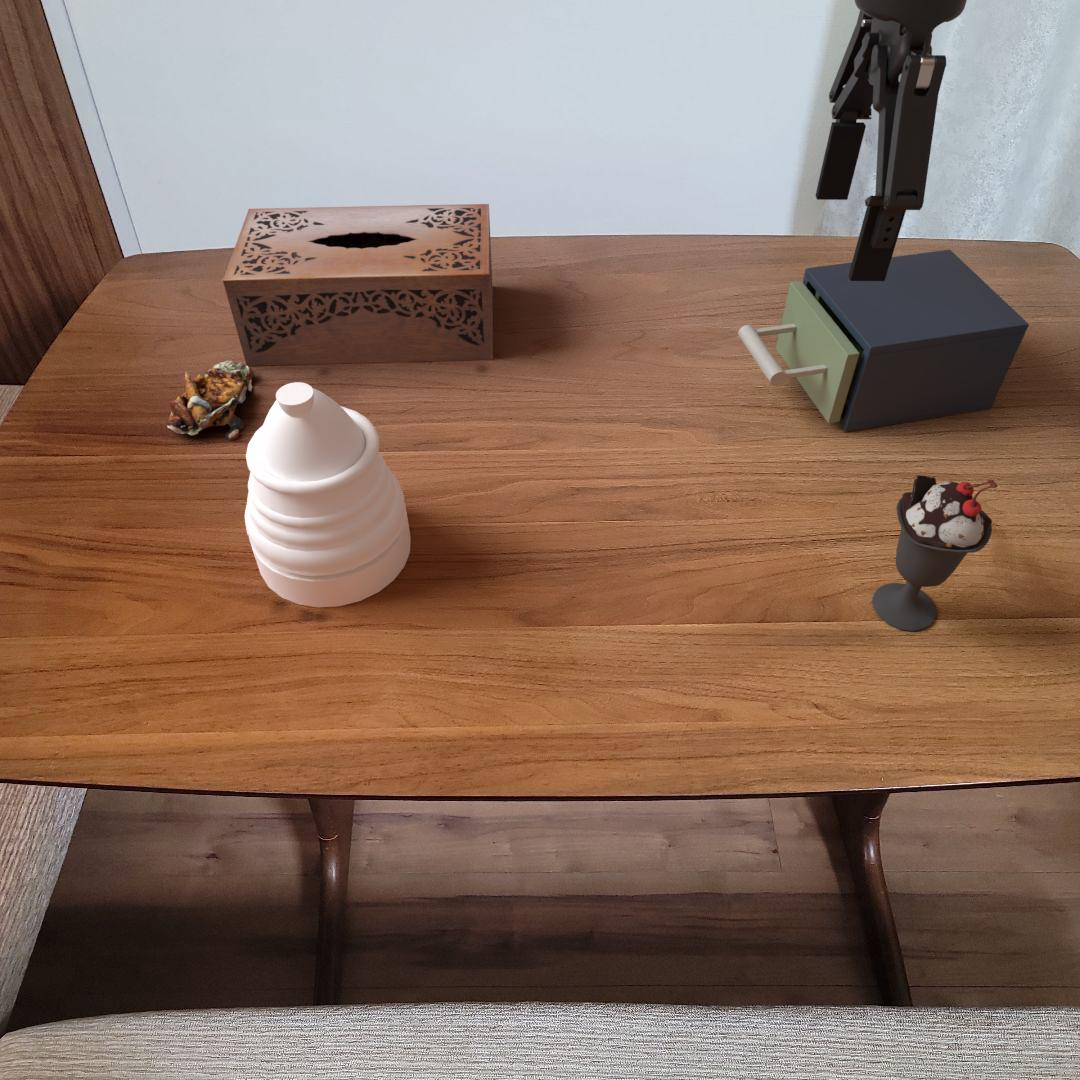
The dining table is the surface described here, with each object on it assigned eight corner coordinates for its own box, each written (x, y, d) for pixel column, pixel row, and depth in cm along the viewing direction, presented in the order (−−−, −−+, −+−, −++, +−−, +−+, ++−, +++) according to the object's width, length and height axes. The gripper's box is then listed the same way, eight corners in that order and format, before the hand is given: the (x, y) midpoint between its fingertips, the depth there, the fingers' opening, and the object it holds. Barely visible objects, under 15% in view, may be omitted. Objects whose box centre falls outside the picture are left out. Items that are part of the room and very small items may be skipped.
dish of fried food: (259, 366, 97) (252, 336, 94) (240, 440, 89) (230, 411, 86) (192, 368, 97) (182, 338, 94) (165, 443, 88) (154, 413, 86)
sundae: (953, 645, 72) (1027, 507, 61) (864, 634, 72) (922, 496, 62) (942, 581, 76) (1009, 442, 65) (858, 571, 77) (910, 432, 66)
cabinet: (844, 432, 89) (871, 347, 82) (786, 350, 98) (805, 268, 91) (991, 408, 92) (1029, 324, 85) (921, 331, 101) (950, 249, 94)
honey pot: (418, 594, 75) (393, 421, 62) (257, 619, 74) (196, 447, 61) (403, 487, 84) (377, 316, 71) (258, 507, 82) (204, 336, 69)
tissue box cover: (492, 285, 107) (488, 203, 100) (493, 359, 98) (489, 274, 90) (268, 290, 107) (248, 208, 99) (246, 365, 97) (222, 280, 90)
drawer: (771, 432, 88) (787, 363, 82) (723, 356, 96) (734, 289, 90) (965, 401, 91) (993, 333, 85) (902, 330, 99) (924, 264, 94)
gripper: (830, -100, 71) (778, 168, 87) (917, 7, 54) (833, 318, 70) (927, -100, 71) (858, 169, 87) (1045, 7, 54) (933, 319, 70)
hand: (847, 236), depth 78 cm, fingers open, 13 cm apart
